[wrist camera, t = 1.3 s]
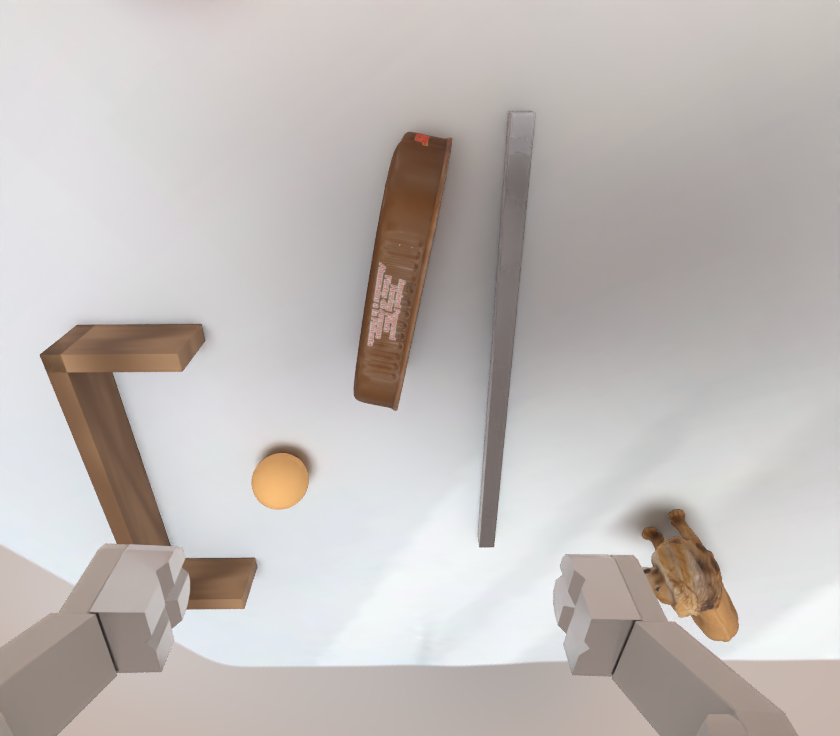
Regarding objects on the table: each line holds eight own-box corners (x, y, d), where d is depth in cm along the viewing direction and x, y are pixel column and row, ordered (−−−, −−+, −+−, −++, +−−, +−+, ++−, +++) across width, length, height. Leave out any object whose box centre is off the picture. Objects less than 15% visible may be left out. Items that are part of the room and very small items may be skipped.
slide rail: (530, 110, 29) (535, 112, 27) (492, 535, 45) (493, 547, 44) (508, 111, 29) (512, 113, 27) (477, 536, 45) (479, 547, 44)
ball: (309, 441, 39) (300, 478, 36) (315, 482, 41) (306, 521, 38) (255, 442, 39) (240, 479, 36) (263, 483, 41) (249, 521, 38)
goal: (201, 324, 35) (177, 353, 31) (257, 567, 46) (244, 608, 43) (77, 325, 35) (39, 354, 31) (164, 568, 46) (143, 609, 43)
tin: (404, 366, 36) (401, 443, 29) (358, 358, 36) (344, 434, 29) (453, 130, 29) (466, 153, 22) (396, 117, 29) (390, 138, 21)
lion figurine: (601, 515, 44) (642, 614, 36) (659, 481, 42) (715, 578, 34) (690, 600, 49) (742, 702, 41) (744, 573, 47) (809, 674, 40)
